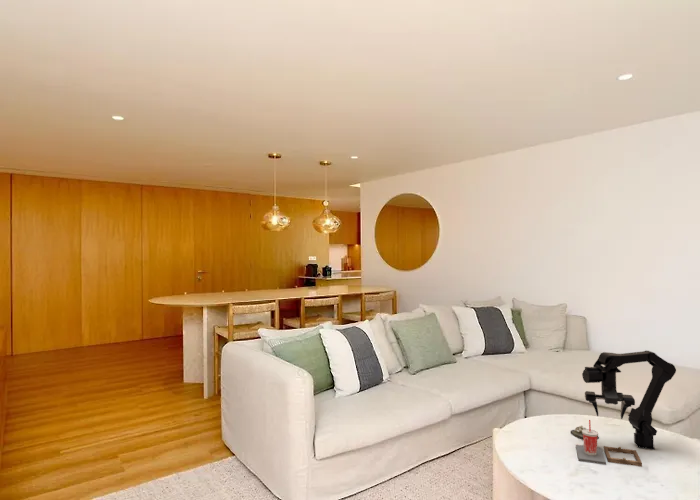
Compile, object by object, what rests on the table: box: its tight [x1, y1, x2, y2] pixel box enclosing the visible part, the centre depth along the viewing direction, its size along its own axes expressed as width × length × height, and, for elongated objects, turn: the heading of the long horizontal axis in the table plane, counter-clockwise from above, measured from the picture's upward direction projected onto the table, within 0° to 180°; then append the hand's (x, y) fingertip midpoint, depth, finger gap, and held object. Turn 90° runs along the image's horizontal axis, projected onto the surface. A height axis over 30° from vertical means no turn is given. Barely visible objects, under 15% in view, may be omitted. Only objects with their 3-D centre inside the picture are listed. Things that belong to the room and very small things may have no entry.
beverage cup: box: [582, 419, 599, 455], centre depth 189 cm, size 6×6×14 cm
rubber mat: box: [575, 444, 607, 465], centre depth 189 cm, size 10×14×1 cm
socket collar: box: [603, 445, 643, 468], centre depth 186 cm, size 12×12×2 cm
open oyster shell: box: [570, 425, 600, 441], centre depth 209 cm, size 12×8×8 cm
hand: (609, 417), depth 197 cm, fingers open, 9 cm apart
